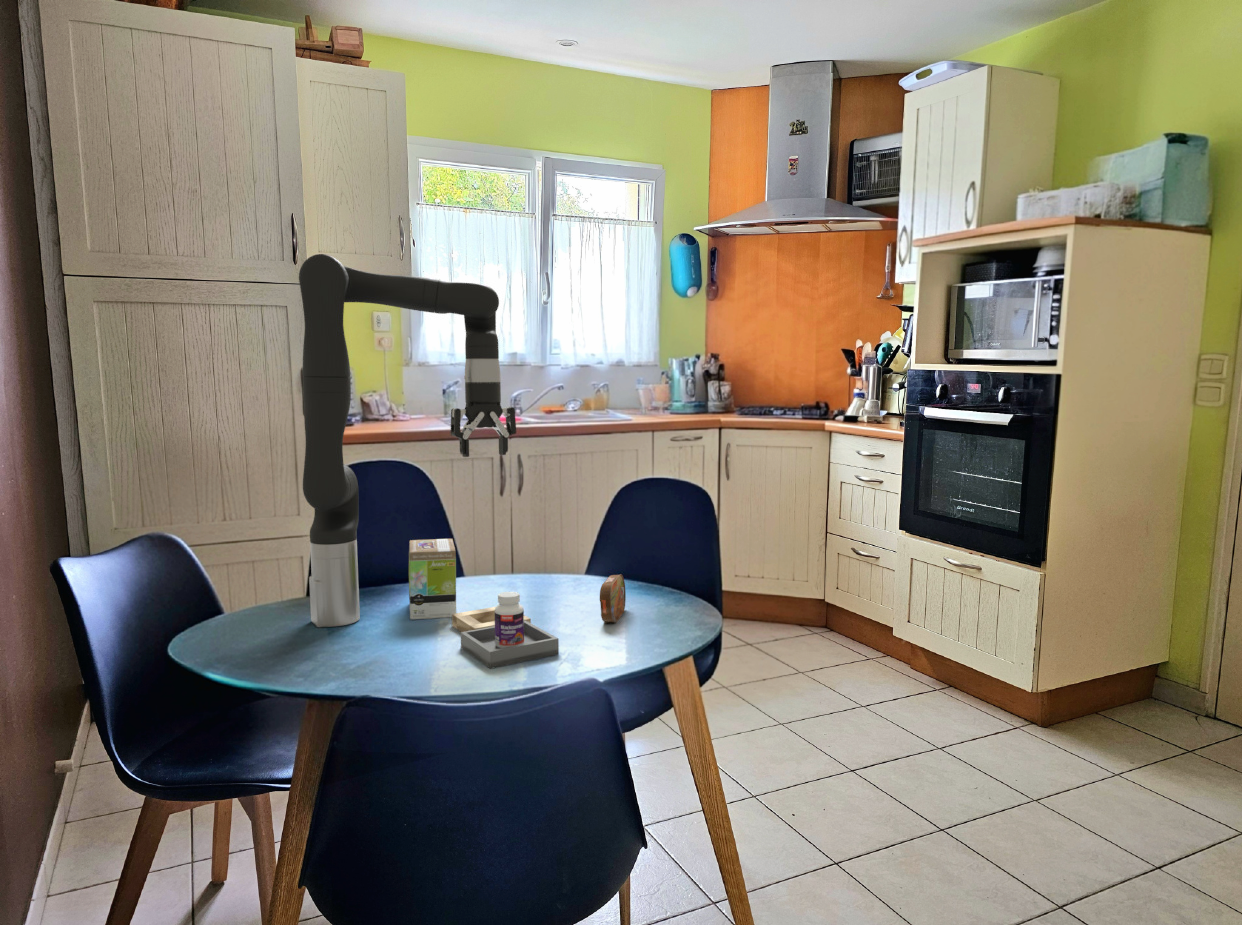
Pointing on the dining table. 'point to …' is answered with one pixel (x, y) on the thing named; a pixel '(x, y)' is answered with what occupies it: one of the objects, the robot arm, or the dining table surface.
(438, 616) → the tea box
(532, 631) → the charcoal tray
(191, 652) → the dining table surface
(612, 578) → the tin
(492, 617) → the oak collar
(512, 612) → the pill bottle
